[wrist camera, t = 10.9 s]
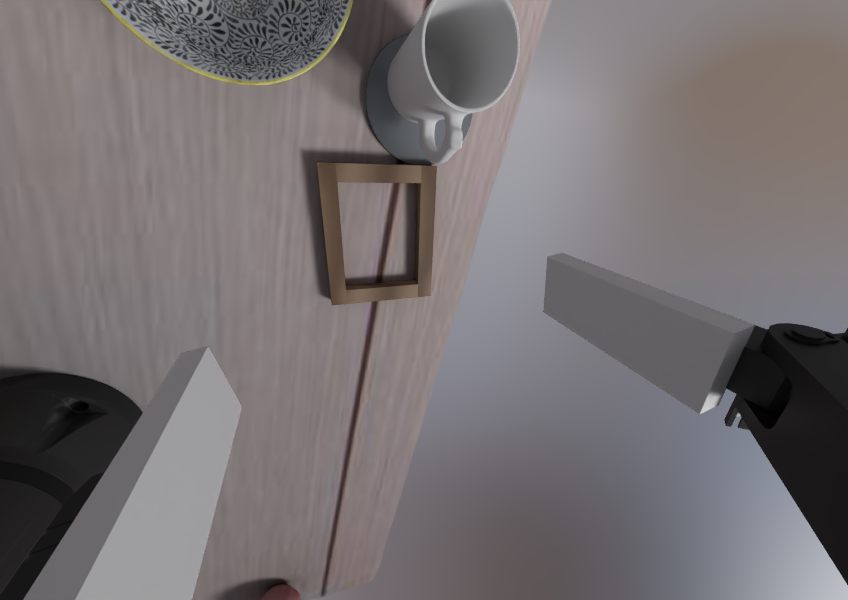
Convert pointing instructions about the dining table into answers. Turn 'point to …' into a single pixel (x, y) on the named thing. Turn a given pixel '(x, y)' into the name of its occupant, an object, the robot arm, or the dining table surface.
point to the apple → (282, 593)
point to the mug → (454, 67)
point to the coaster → (397, 114)
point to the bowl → (238, 34)
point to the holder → (333, 239)
